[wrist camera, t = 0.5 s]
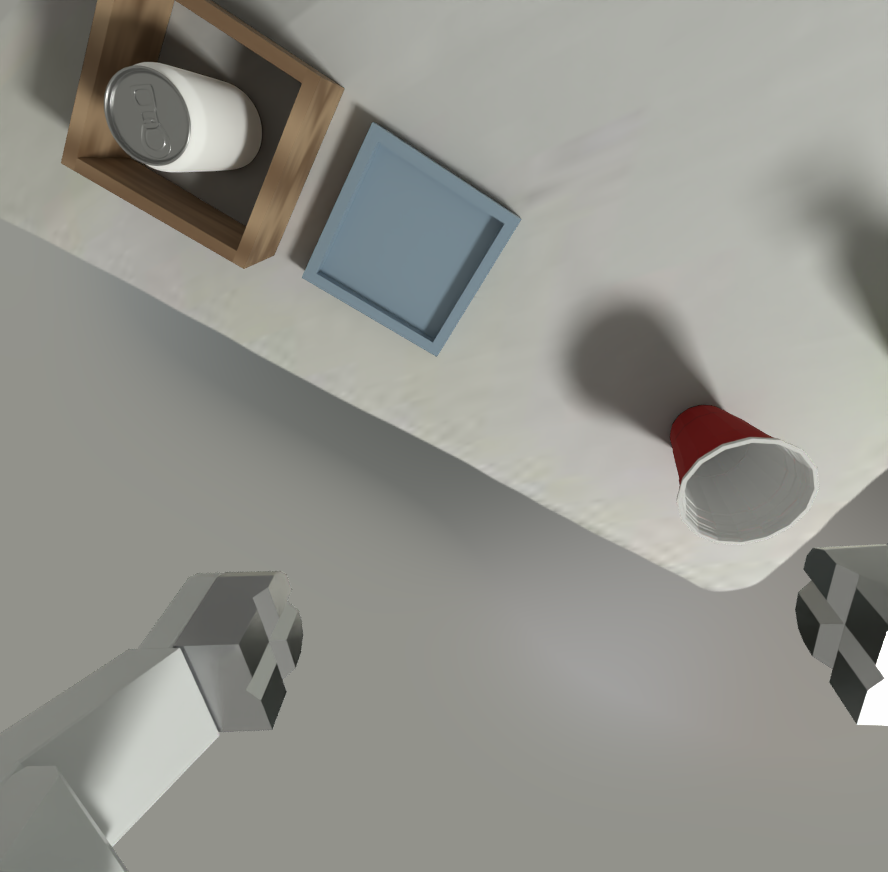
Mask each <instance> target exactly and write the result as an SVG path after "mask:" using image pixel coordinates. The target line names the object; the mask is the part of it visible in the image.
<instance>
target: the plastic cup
mask: <svg viewBox="0 0 888 872" xmlns="http://www.w3.org/2000/svg"><path fill="white" fill-rule="evenodd" d="M670 440H671V444H672V448H673V454H674V459H675V463H676V467H677V471H678V475H679V483H680V487H679V492H678V495H677V505H678V509H679V513H680V517H681V521H682V522H683V523H684V524H685V525H686V526H687V527H688V528H689V529H690V530H691V531H692V532H693V533H694V534H695V535H697V536H699V537H702V538H704V539H706V540H709V541H711V542H714V543H717V544H733V545H744V544H748V543H753V542H758V541H763V540H767V539H769V538H771V537H773V536H775V535H777V534H779V533H781V532H783V531H785V530H787V529H789V528H791V527H792V526H793V525H794V524H795V523H796V522H797V521H798V520H799V519H800V518H801V517H803V516H804V515H805V514H806V513H807V512H808V511H809V510H810V508H811V506H812V504H813V501H814V499H815V497H816V495H817V492H818V490H819V480H818V469H817V466H816V465H815V464H814V463H813V461H812V460H811V459H810V457H809V456H808V455H807V454H806V452H805V451H804V450H802V449H800V448H798V447H796V446H794V445H791V444H789V443H787V442H785V441H782V440H780V439H778V438H773V437H771V436H769V435H767V434H765V433H764V432H762V431H760V430H759V429H757V428H755V427H754V426H752V425H750V424H749V423H747V422H745V421H744V420H742V419H740V418H738V417H736V416H733V415H731V414H730V413H728V412H726V411H724V410H722V409H720V408H718V407H715V406H712V405H698V406H695V407H692V408H689V409H687V410H686V411H684V412H683V413H681V414H680V415H679V416H678V417H677V419H676V420H675V421H674V423H673V424H672V428H671V433H670Z"/></svg>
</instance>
